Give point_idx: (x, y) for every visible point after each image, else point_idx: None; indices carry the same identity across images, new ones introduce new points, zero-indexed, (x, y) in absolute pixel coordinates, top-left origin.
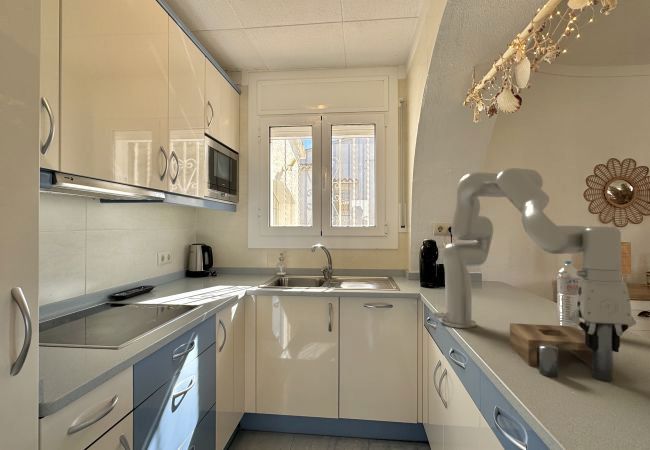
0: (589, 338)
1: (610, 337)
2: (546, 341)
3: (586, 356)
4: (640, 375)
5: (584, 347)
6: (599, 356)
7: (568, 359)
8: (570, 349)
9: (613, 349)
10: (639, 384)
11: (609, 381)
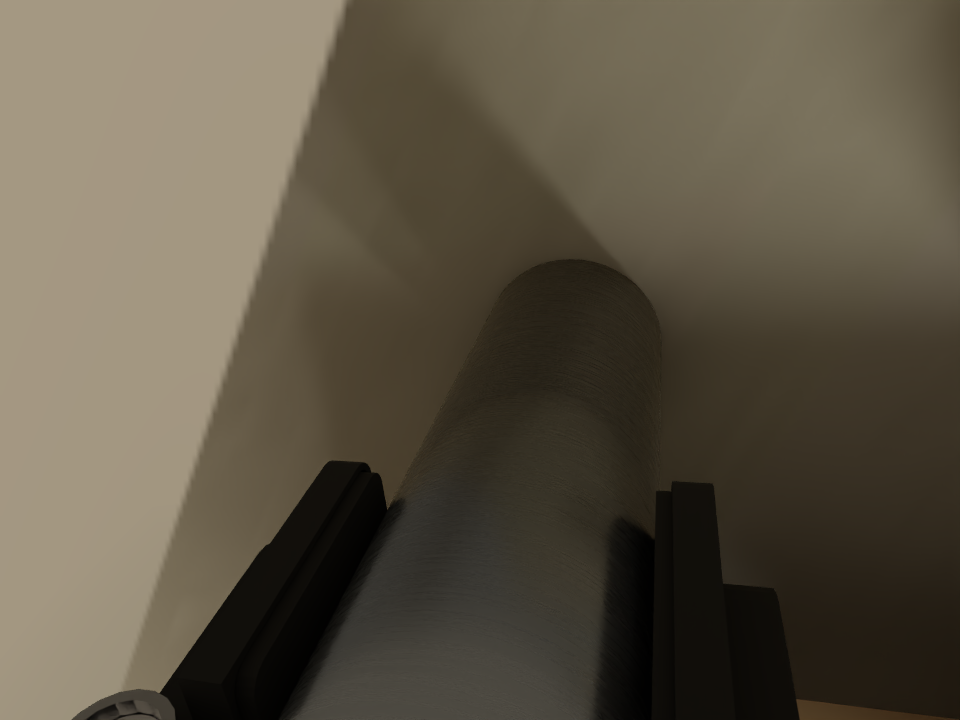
0: (777, 710)
1: (355, 653)
2: None
3: None
4: (225, 452)
5: None
6: (618, 423)
7: None
8: (810, 702)
9: (377, 513)
10: (297, 264)
11: (549, 262)
